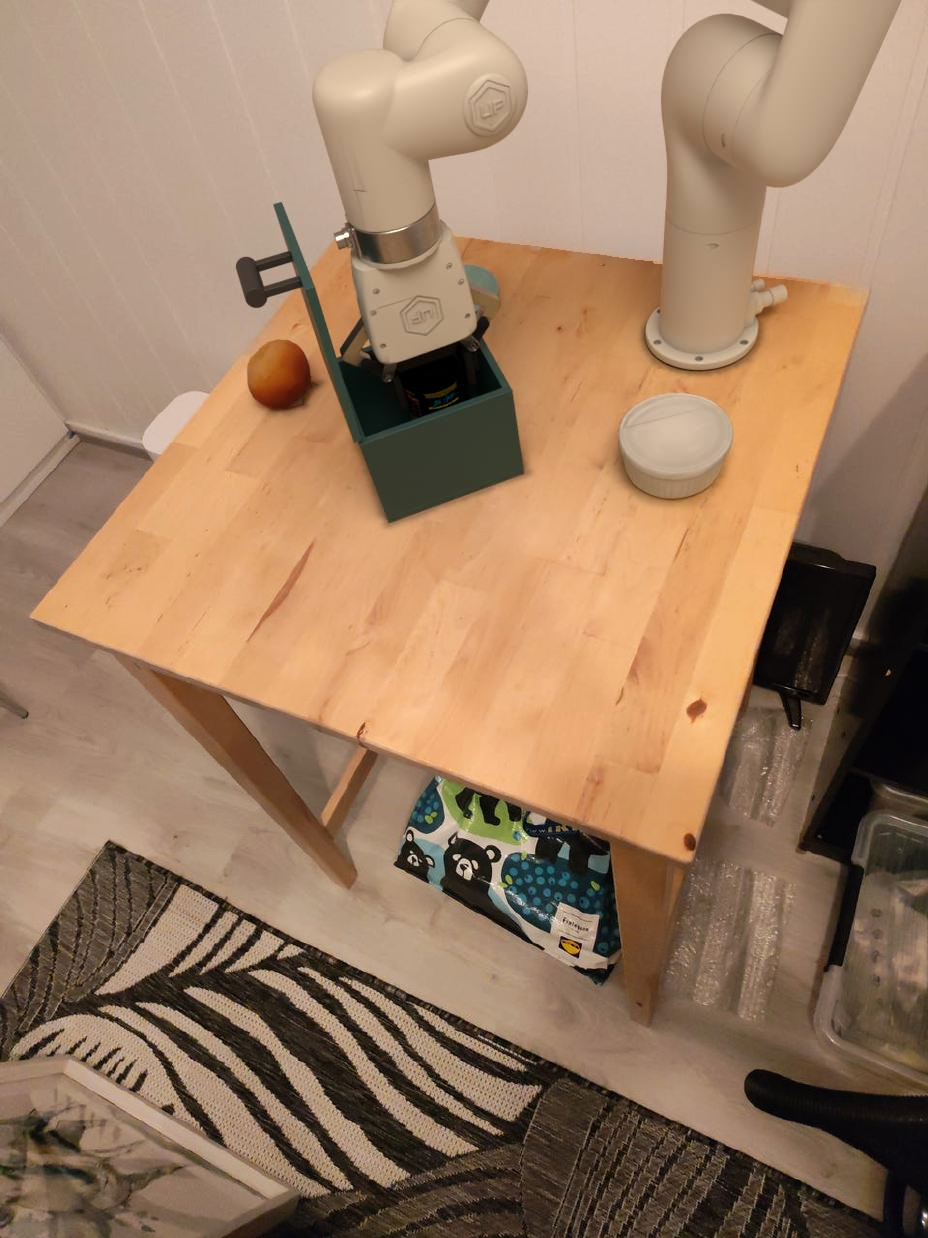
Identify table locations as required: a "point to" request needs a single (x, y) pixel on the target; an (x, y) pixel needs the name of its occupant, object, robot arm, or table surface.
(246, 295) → the lid
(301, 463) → the table surface
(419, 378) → the supplement container
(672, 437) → the ramekin
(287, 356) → the fruit
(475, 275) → the saucer
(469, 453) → the box
